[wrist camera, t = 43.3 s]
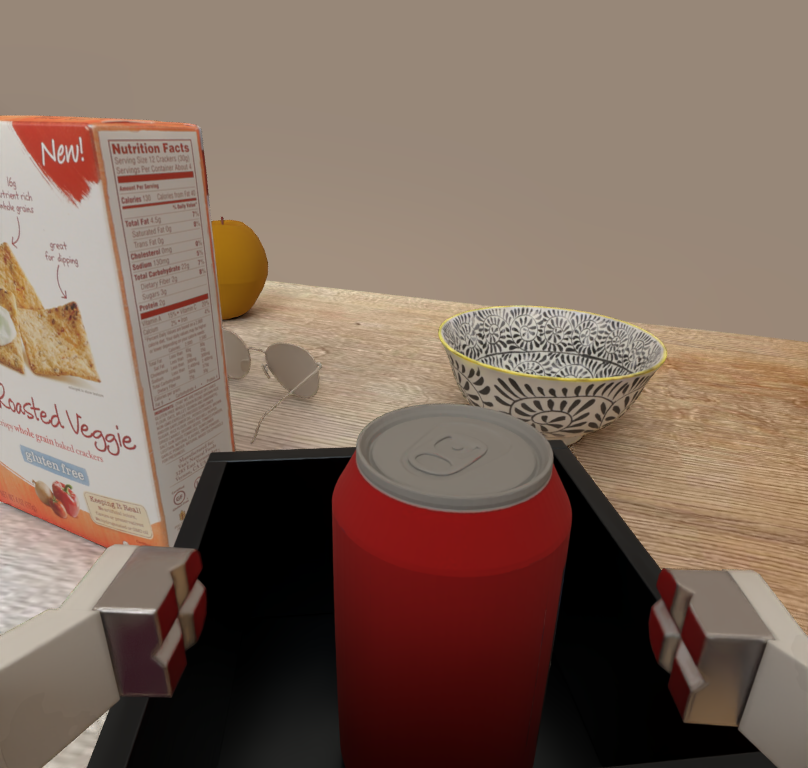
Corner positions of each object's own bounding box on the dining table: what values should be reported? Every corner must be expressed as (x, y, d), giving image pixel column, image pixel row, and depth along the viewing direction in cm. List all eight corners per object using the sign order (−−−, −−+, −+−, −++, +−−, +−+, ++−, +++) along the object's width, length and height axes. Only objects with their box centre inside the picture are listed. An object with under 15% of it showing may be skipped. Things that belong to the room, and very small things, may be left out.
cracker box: (-11, 507, 34) (-130, 112, 26) (82, 461, 39) (6, 117, 31) (165, 586, 29) (82, 112, 20) (247, 520, 34) (207, 118, 25)
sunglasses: (330, 404, 48) (321, 350, 46) (260, 462, 42) (246, 403, 40) (210, 370, 55) (197, 321, 52) (135, 416, 49) (116, 363, 46)
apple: (270, 326, 68) (263, 222, 63) (182, 329, 66) (168, 222, 62) (272, 304, 77) (265, 211, 72) (194, 306, 75) (183, 211, 70)
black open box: (725, 1006, 15) (825, 783, 12) (127, 1097, 13) (46, 868, 10) (540, 596, 28) (562, 438, 25) (230, 617, 27) (209, 451, 23)
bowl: (693, 477, 39) (718, 371, 36) (456, 489, 37) (463, 378, 34) (593, 384, 53) (605, 304, 51) (420, 389, 52) (423, 306, 49)
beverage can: (567, 735, 21) (621, 438, 16) (460, 909, 16) (495, 557, 12) (419, 639, 25) (430, 377, 20) (297, 756, 20) (276, 448, 16)
